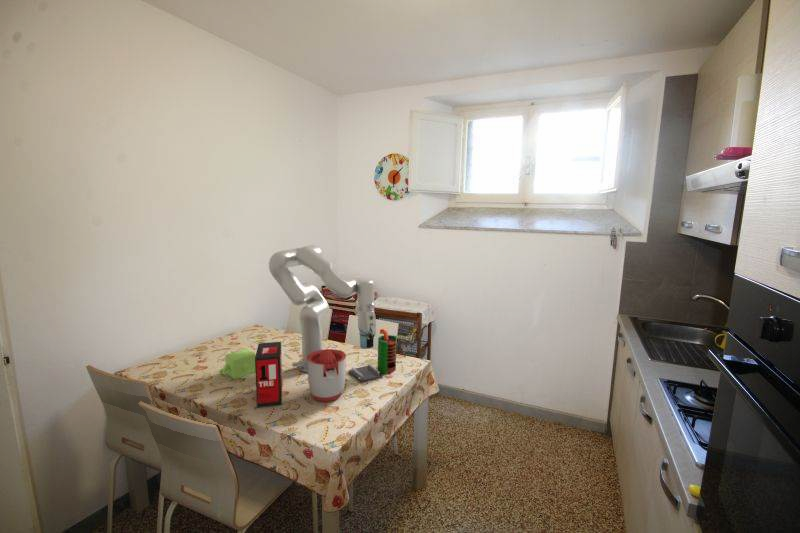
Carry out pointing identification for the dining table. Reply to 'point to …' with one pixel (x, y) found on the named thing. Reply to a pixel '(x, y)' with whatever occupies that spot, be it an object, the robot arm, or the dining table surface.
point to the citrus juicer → (326, 374)
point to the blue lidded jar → (363, 340)
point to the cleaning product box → (268, 374)
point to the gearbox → (239, 363)
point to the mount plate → (365, 373)
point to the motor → (386, 352)
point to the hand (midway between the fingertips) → (366, 344)
